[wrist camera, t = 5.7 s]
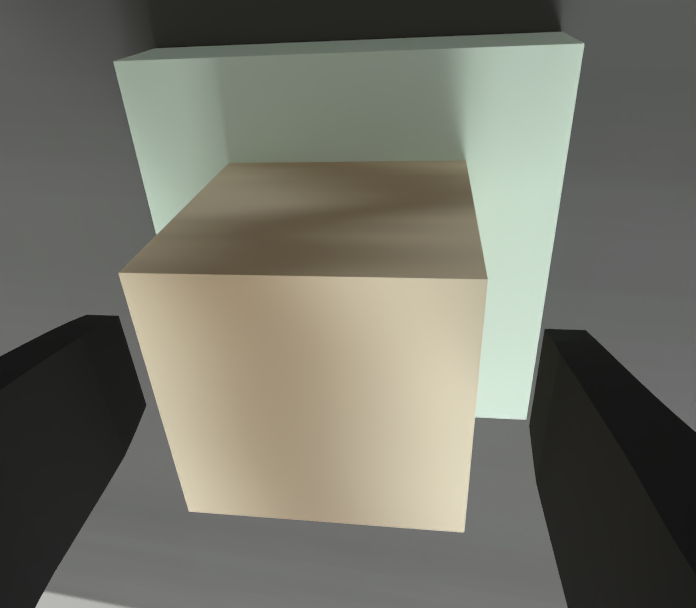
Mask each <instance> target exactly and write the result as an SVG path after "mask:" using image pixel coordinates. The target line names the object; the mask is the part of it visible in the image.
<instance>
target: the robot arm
mask: <svg viewBox="0 0 696 608" xmlns="http://www.w3.org/2000/svg"><path fill="white" fill-rule="evenodd" d="M145 407H146V403H145V399H144V396H143V393H142V390H141V387H140V383H139V380H138V377H137V374H136V370H135V367H134V364H133V361H132V358H131V354H130V351H129V348H128V345H127V342H126V338H125V335H124V332H123V329H122V326H121V322H120V319H119V316H106V315H85V316H83V317H80V318H78V319H75V320H73V321H70V322H68V323H66V324H64V325H61V326H59V327H57V328H55V329H53V330H51V331H49V332H47V333H45V334H43V335H41V336H39V337H37V338H35V339H33V340H31V341H29V342H27V343H25V344H23V345H21V346H19V347H18V348H16V349H14V350H12V351H10V352H8V353H6V354H4V355H2V356H0V608H35V607H36V605H37V603H38V601H39V599H40V597H41V595H42V594H43V592H44V590H45V588H46V586H47V585H48V583H49V581H50V579H51V577H52V576H53V574H54V572H55V570H56V569H57V567H58V565H59V564H60V562H61V561H62V559H63V557H64V556H65V554H66V552H67V551H68V549H69V547H70V546H71V544H72V542H73V541H74V539H75V538H76V536H77V534H78V533H79V531H80V529H81V528H82V526H83V524H84V523H85V521H86V520H87V518H88V516H89V515H90V513H91V511H92V510H93V508H94V506H95V505H96V503H97V502H98V500H99V498H100V497H101V495H102V493H103V492H104V490H105V488H106V487H107V485H108V483H109V482H110V480H111V478H112V477H113V475H114V473H115V472H116V470H117V468H118V466H119V465H120V463H121V461H122V459H123V458H124V456H125V454H126V452H127V450H128V447H129V445H130V443H131V441H132V439H133V436H134V434H135V432H136V429H137V427H138V424H139V422H140V419H141V417H142V415H143V412H144V410H145ZM529 427H530V436H531V445H532V453H533V461H534V469H535V476H536V483H537V487H538V492H539V496H540V500H541V504H542V508H543V512H544V516H545V520H546V524H547V528H548V532H549V536H550V540H551V543H552V547H553V551H554V555H555V559H556V563H557V567H558V571H559V575H560V579H561V583H562V586H563V590H564V594H565V598H566V602H567V606H568V608H696V432H695V431H694V430H692V429H691V428H690V427H689V426H688V425H687V424H685V423H684V422H683V421H682V420H681V419H680V418H679V417H677V416H676V415H675V414H674V413H673V412H672V411H671V410H670V409H668V408H667V407H666V406H665V405H664V404H663V403H662V402H661V401H660V400H659V399H658V398H656V397H655V396H654V395H653V394H652V393H651V392H650V391H649V390H648V389H647V388H646V387H645V386H644V385H642V384H641V383H640V382H639V381H638V380H637V379H636V378H635V377H634V376H633V375H632V374H631V373H630V372H629V371H628V370H627V369H626V368H625V367H624V366H623V365H621V364H620V363H619V362H618V361H617V360H616V359H615V358H614V357H613V356H612V355H611V354H610V353H609V352H608V351H607V350H606V349H605V348H604V347H603V346H602V345H601V344H600V343H599V342H598V341H597V340H596V339H595V338H593V337H592V336H591V335H590V334H589V333H588V332H587V331H586V330H561V329H545V331H544V337H543V343H542V350H541V356H540V362H539V368H538V375H537V381H536V387H535V393H534V400H533V406H532V412H531V418H530V425H529Z"/></svg>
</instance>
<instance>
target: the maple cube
mask: <svg viewBox="0 0 696 608" xmlns="http://www.w3.org/2000/svg"><path fill="white" fill-rule="evenodd" d="M119 277H120V280H121V283H122V287H123V290H124V294H125V297H126V300H127V304H128V307H129V310H130V314H131V317H132V321H133V324H134V327H135V331H136V334H137V337H138V341H139V344H140V348H141V351H142V354H143V358H144V361H145V365H146V368H147V371H148V375H149V378H150V381H151V385H152V388H153V392H154V395H155V398H156V402H157V405H158V408H159V412H160V415H161V419H162V422H163V425H164V429H165V432H166V436H167V439H168V442H169V446H170V449H171V452H172V456H173V459H174V463H175V466H176V469H177V473H178V476H179V479H180V483H181V486H182V490H183V493H184V496H185V500H186V503H187V506H188V510H189V512H202V513H215V514H229V515H242V516H255V517H268V518H281V519H294V520H307V521H320V522H334V523H347V524H360V525H373V526H386V527H399V528H412V529H425V530H439V531H452V532H464V528H465V518H466V507H467V496H468V486H469V475H470V464H471V454H472V443H473V433H474V422H475V411H476V401H477V390H478V379H479V369H480V358H481V347H482V337H483V326H484V316H485V305H486V294H487V284H488V277H487V272H486V266H485V261H484V255H483V250H482V245H481V239H480V234H479V228H478V223H477V217H476V212H475V207H474V201H473V196H472V190H471V185H470V179H469V174H468V168H467V163H466V161H375V162H271V163H228V164H227V165H226V166H225V167H224V168H223V169H222V170H221V171H220V172H219V173H218V174H217V175H216V176H215V177H214V178H213V179H212V180H211V181H210V182H209V183H208V184H207V185H206V186H205V187H204V188H203V189H202V190H201V191H200V192H199V193H198V194H197V195H196V196H195V197H194V198H193V199H192V200H191V201H190V202H189V203H188V204H187V205H186V206H185V207H184V208H183V209H182V210H181V211H180V212H179V213H178V214H177V215H176V216H175V217H174V218H173V219H172V220H171V221H170V222H169V223H168V224H167V225H166V226H165V227H164V228H163V229H162V230H161V231H160V232H159V233H158V234H157V235H156V236H155V237H154V238H153V239H152V240H151V241H150V242H149V243H148V244H147V245H146V246H145V247H144V248H143V249H142V250H141V251H140V252H139V253H138V254H137V255H136V256H135V257H134V258H133V259H132V260H131V261H130V262H129V263H128V264H127V265H126V266H125V267H124V268H123V269H122V270H121V271H120V272H119Z"/></svg>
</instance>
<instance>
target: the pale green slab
mask: <svg viewBox="0 0 696 608" xmlns="http://www.w3.org/2000/svg"><path fill="white" fill-rule="evenodd" d="M583 49H584V43H583V42H581V41H579V40H577V39H575V38H573V37H571V36H569V35H567V34H565V33H564V32H541V33H517V34H493V35H468V36H444V37H419V38H395V39H370V40H346V41H321V42H297V43H272V44H248V45H223V46H199V47H174V48H154V49H151V50H148V51H145V52H142V53H138V54H135V55H132V56H129V57H126V58H122V59H119V60H116V61H113V62H114V66H115V70H116V74H117V78H118V82H119V86H120V90H121V94H122V98H123V102H124V106H125V110H126V115H127V119H128V123H129V127H130V131H131V135H132V139H133V143H134V147H135V151H136V155H137V159H138V163H139V167H140V171H141V175H142V179H143V183H144V187H145V191H146V195H147V199H148V203H149V207H150V211H151V215H152V219H153V223H154V227H155V231H156V235H157V234H158V233H159V232H160V231H161V230H162V229H163V228H164V227H165V226H166V225H167V224H168V223H169V222H170V221H171V220H172V219H173V218H174V217H175V216H176V215H177V214H178V213H179V212H180V211H181V210H182V209H183V208H184V207H185V206H186V205H187V204H188V203H189V202H190V201H191V200H192V199H193V198H194V197H195V196H196V195H197V194H198V193H199V192H200V191H201V190H202V189H203V188H204V187H205V186H206V185H207V184H208V183H209V182H210V181H211V180H212V179H213V178H214V177H215V176H216V175H217V174H218V173H219V172H220V171H221V170H222V169H223V168H224V167H225V166H226V165H227V164H228V163H271V162H375V161H466V163H467V168H468V174H469V179H470V185H471V190H472V196H473V201H474V207H475V212H476V217H477V223H478V228H479V234H480V239H481V245H482V250H483V255H484V261H485V266H486V272H487V277H488V284H487V294H486V305H485V316H484V326H483V337H482V347H481V358H480V369H479V379H478V390H477V401H476V411H475V417H482V418H503V419H524V420H526V417H527V411H528V404H529V398H530V391H531V385H532V378H533V372H534V365H535V359H536V353H537V346H538V340H539V333H540V327H541V320H542V314H543V307H544V301H545V295H546V288H547V282H548V275H549V269H550V262H551V256H552V249H553V243H554V236H555V230H556V224H557V217H558V211H559V204H560V198H561V191H562V185H563V178H564V172H565V165H566V159H567V153H568V146H569V140H570V133H571V127H572V120H573V114H574V107H575V101H576V95H577V88H578V82H579V75H580V69H581V62H582V56H583Z"/></svg>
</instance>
